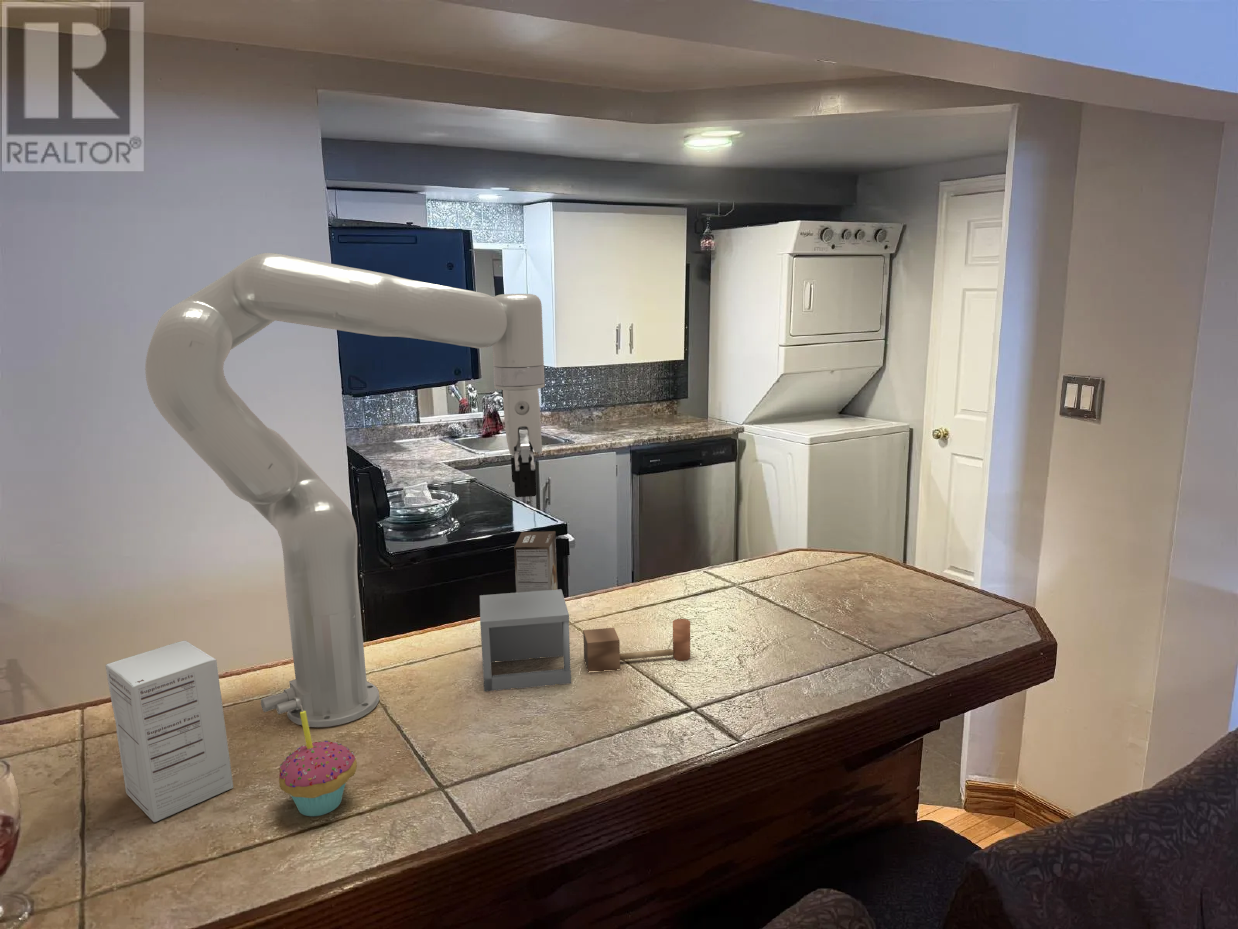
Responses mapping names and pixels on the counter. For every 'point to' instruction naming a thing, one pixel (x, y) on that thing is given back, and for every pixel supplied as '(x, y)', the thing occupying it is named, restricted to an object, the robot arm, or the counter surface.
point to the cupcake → (316, 774)
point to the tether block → (606, 653)
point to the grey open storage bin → (524, 636)
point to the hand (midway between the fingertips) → (523, 488)
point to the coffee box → (536, 561)
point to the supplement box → (170, 728)
